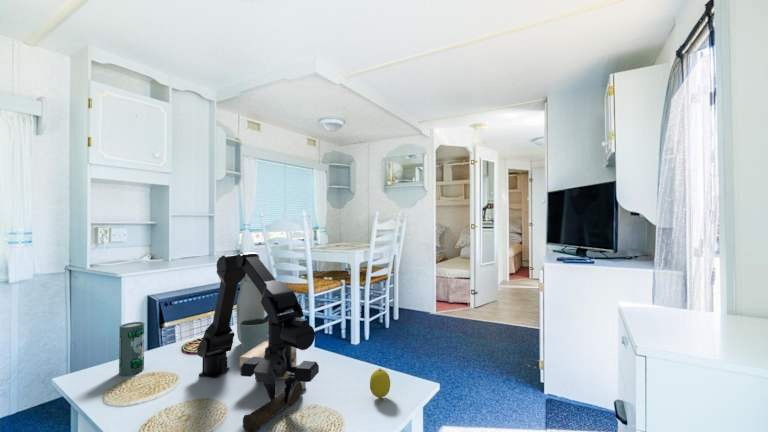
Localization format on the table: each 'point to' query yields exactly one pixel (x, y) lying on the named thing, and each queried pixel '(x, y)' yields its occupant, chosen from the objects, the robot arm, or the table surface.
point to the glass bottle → (248, 303)
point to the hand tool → (270, 409)
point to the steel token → (303, 385)
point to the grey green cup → (253, 333)
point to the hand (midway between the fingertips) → (279, 402)
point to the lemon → (380, 383)
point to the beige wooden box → (260, 352)
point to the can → (131, 348)
